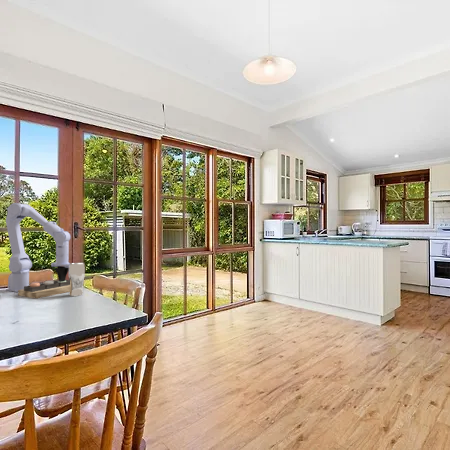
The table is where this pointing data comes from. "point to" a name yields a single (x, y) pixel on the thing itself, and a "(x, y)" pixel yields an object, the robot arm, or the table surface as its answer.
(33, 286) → the button terracotta
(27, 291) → the button panel
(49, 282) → the button grey
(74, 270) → the beer glass
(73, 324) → the table surface
